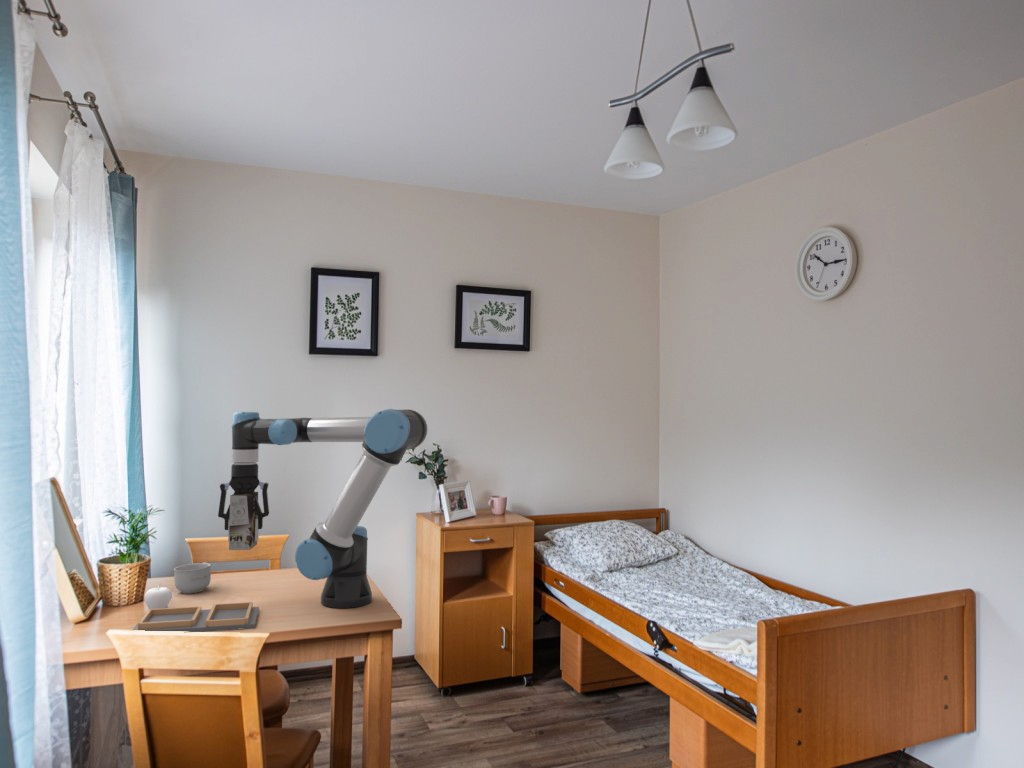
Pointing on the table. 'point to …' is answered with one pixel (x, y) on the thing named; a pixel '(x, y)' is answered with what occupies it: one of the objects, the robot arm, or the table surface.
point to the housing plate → (200, 618)
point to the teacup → (192, 577)
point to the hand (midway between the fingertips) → (243, 540)
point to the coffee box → (242, 521)
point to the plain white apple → (158, 597)
